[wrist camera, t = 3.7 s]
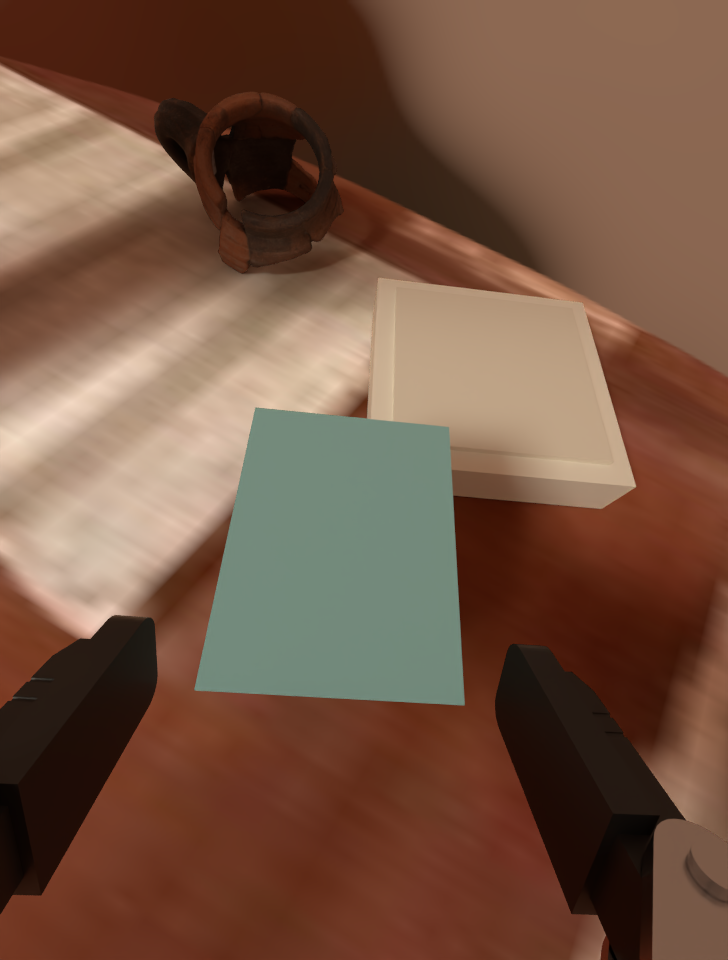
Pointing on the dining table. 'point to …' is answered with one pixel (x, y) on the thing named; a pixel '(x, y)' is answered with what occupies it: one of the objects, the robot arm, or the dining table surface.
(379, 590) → the teal rectangular box
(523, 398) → the display plinth
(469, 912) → the dining table surface
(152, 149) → the dining table surface
